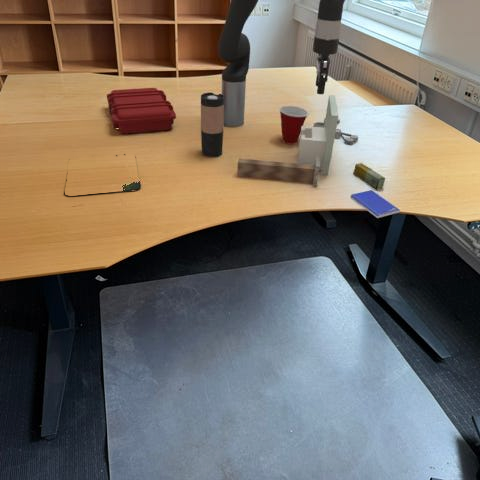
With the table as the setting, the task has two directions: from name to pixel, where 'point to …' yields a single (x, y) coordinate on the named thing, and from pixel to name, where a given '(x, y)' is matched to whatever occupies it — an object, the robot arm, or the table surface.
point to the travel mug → (212, 124)
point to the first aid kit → (140, 110)
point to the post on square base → (279, 170)
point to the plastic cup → (292, 122)
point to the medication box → (369, 176)
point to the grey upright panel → (319, 139)
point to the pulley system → (339, 133)
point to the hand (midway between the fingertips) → (319, 89)
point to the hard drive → (374, 203)
